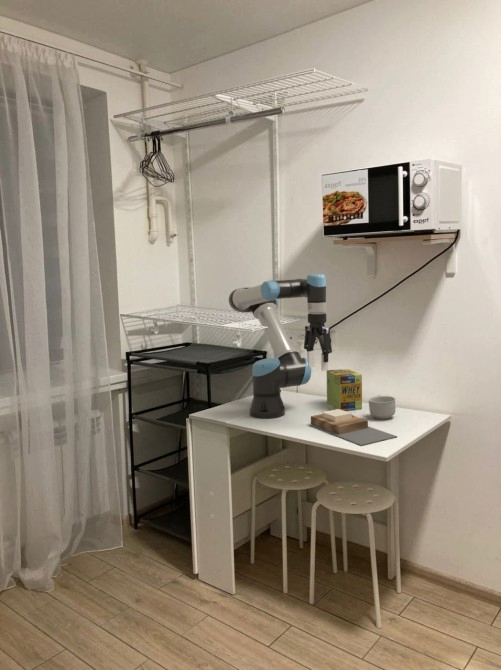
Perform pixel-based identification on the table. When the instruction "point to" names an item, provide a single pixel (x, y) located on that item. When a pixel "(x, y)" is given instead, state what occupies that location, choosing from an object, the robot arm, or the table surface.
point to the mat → (361, 435)
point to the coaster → (337, 415)
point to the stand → (340, 424)
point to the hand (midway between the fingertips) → (317, 368)
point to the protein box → (344, 389)
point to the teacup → (382, 406)
